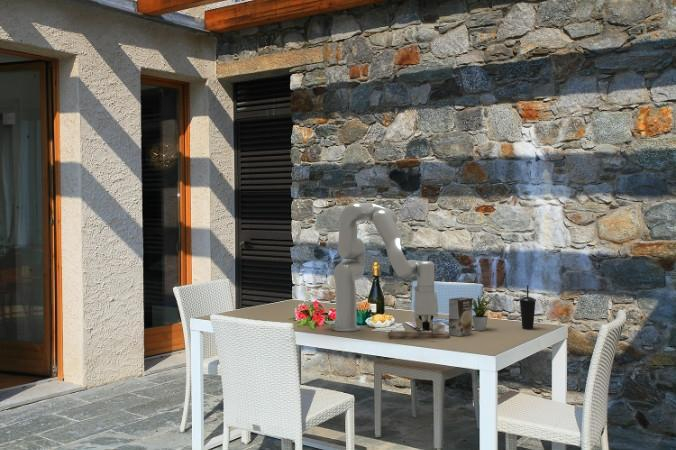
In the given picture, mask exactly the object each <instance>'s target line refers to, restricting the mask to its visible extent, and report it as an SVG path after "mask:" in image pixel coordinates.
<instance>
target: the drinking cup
mask: <svg viewBox="0 0 676 450" xmlns="http://www.w3.org/2000/svg"><path fill="white" fill-rule="evenodd" d="M518 300H519V305H520V306H519V307H520V316H521V328H522V329H523V330H533V329H534V324H535V323H534V321H535V312H536V311H535V310H536V302H537V299H536V298H534V297H532V296H529V285H526V296H523V297H521V298H519V299H518Z"/></svg>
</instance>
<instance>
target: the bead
mask: <svg viewBox="0 0 676 450" xmlns="http://www.w3.org/2000/svg"><path fill="white" fill-rule="evenodd" d="M445 326H446V325H445V323H444V322H433V323H432V329H431V331H432V333H433V334H445V331H446V327H445Z"/></svg>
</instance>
